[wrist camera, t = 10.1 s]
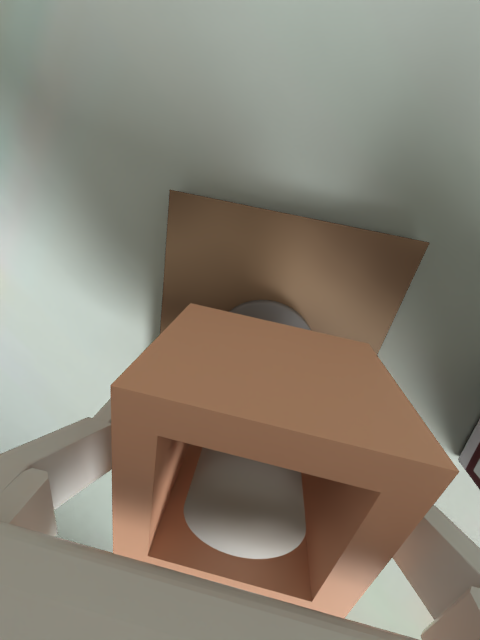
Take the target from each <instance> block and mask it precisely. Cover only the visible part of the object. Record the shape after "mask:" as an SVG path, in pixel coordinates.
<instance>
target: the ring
mask: <svg viewBox="0 0 480 640" xmlns="http://www.w3.org/2000/svg"><path fill="white" fill-rule="evenodd" d="M111 447H112V512H113V553H115V554H118V555H122V556H125V557H129V558H132V559H136V560H139V561H143V562H147V563H150V564H154V565H157V566H161V567H164V568H168V569H171V570H175V571H178V572H182V573H185V574H189V575H193V576H196V577H200V578H203V579H207V580H210V581H214V582H217V583H221V584H224V585H228V586H231V587H235V588H239V589H242V590H246V591H249V592H253V593H256V594H260V595H263V596H267V597H270V598H274V599H277V600H281V601H284V602H288V603H291V604H295V605H299V606H302V607H306V608H309V609H313V610H316V611H320V612H323V613H327V614H330V615H334V616H337V617H341V618H345V617H346V616H347V614H348V613H349V612H350V610H351V609H352V608H353V607H354V605H355V604H356V603H357V602H358V600H359V599H360V598H361V596H362V595H363V594H364V593H365V591H366V590H367V589H368V587H369V586H370V585H371V584H372V582H373V581H374V580H375V579H376V577H377V576H378V575H379V573H380V572H381V571H382V570H383V568H384V567H385V566H386V565H387V563H388V562H389V561H390V559H391V558H392V557H393V556H394V554H395V553H396V552H397V550H398V549H399V548H400V547H401V545H402V544H403V543H404V542H405V540H406V539H407V538H408V536H409V535H410V534H411V533H412V531H413V530H414V529H415V528H416V526H417V525H418V524H419V522H420V521H421V520H422V519H423V517H424V516H425V515H426V513H427V512H428V511H429V510H430V508H431V507H432V506H433V505H434V503H435V502H436V501H437V499H438V498H439V497H440V496H441V494H442V493H443V492H444V490H445V489H446V488H447V487H448V485H449V484H450V483H451V482H452V480H453V479H454V478H455V476H456V475H457V474H458V473H459V471H458V469H457V468H456V466H455V465H454V464H453V462H452V461H451V459H450V458H449V457H448V455H447V454H446V452H445V451H444V449H443V448H442V447H441V445H440V444H439V442H438V441H437V440H436V438H435V437H434V435H433V434H432V433H431V431H430V430H429V428H428V427H427V425H426V424H425V423H424V421H423V420H422V418H421V417H420V416H419V414H418V413H417V411H416V410H415V409H414V407H413V406H412V404H411V403H410V401H409V400H408V399H407V397H406V396H405V394H404V393H403V392H402V390H401V389H400V387H399V386H398V384H397V383H396V382H395V380H394V379H393V377H392V376H391V375H390V373H389V372H388V370H387V369H386V368H385V366H384V365H383V363H382V362H381V360H380V359H379V358H378V356H377V355H376V353H375V352H374V351H373V349H372V348H371V346H370V345H369V344H368V343H364V342H359V341H355V340H350V339H346V338H342V337H337V336H333V335H328V334H324V333H320V332H315V331H311V330H306V329H302V328H298V327H293V326H289V325H284V324H280V323H276V322H271V321H267V320H263V319H258V318H254V317H249V316H245V315H241V314H236V313H232V312H227V311H223V310H219V309H214V308H210V307H205V306H201V305H197V304H192V303H190V304H189V305H188V306H187V307H186V308H185V309H184V310H183V311H182V312H181V313H180V314H179V316H178V317H177V318H176V319H175V320H174V321H173V322H172V323H171V324H170V325H169V326H168V327H167V328H166V329H165V330H164V331H163V332H162V333H161V334H160V335H159V336H158V337H157V338H156V339H155V340H154V341H153V342H152V343H151V344H150V345H149V346H148V347H147V348H146V349H145V350H144V351H143V353H142V354H141V355H140V356H139V357H138V358H137V359H136V360H135V361H134V362H133V363H132V364H131V365H130V366H129V367H128V368H127V369H126V370H125V371H124V372H123V373H122V374H121V375H120V376H119V377H118V378H117V379H116V380H115V381H114V382H113V383H112V384H111ZM203 447H204V448H208V449H211V450H215V451H219V452H223V453H227V454H231V455H235V456H239V457H243V458H247V459H251V460H255V461H258V462H262V463H266V464H270V465H274V466H278V467H282V468H286V469H290V470H294V471H298V472H301V476H302V487H303V499H304V510H305V521H306V534H305V537H304V539H303V541H302V542H301V544H300V545H299V546H298V547H297V548H295V549H294V550H293V551H291V552H289V553H287V554H284V555H282V556H278V557H274V558H268V559H249V558H242V557H237V556H233V555H230V554H226V553H224V552H221V551H219V550H217V549H215V548H213V547H211V546H209V545H207V544H206V543H204V542H203V541H202V540H200V539H199V538H198V537H197V536H196V535H195V534H194V533H193V532H192V531H191V529H190V528H189V526H188V525H187V523H186V520H185V517H184V504H185V501H186V497H187V494H188V491H189V488H190V485H191V482H192V479H193V476H194V473H195V469H196V466H197V463H198V460H199V457H200V454H201V451H202V448H203Z"/></svg>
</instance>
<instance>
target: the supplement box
mask: <svg viewBox="0 0 480 640" xmlns="http://www.w3.org/2000/svg"><path fill="white" fill-rule="evenodd" d="M458 460H459V462H460V464H461V465H462V466H463V468H464V469H465V470H466V471H467V473H468V474H469V475H470V477H471V478H472V480H473V481H474V482H475V484H476V485H477V486H478V488H479V489H480V419H479V421H478V423H477V425H476V427H475V429H474V431H473V432H472V434H471V436H470V438H469V440H468V441H467V443H466V445H465V447H464V449H463V451H462V453H461V455H460V457H459V459H458Z"/></svg>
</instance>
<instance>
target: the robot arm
mask: <svg viewBox="0 0 480 640" xmlns="http://www.w3.org/2000/svg"><path fill="white" fill-rule="evenodd" d="M111 469H112V447H111V398H110V399H109V401H108V402H107V403H106V404H105V405H104V406H103V407H102V408H101V409H100V410H99V412H98V413H97V414H96V415H95V416H94V417H93V418H90V417H87V418H85V419H82V420H80V421H78V422H75V423H73V424H71V425H68V426H66V427H63V428H61V429H59V430H56V431H54V432H52V433H49V434H47V435H44V436H42V437H40V438H37V439H35V440H33V441H30V442H28V443H25V444H23V445H21V446H18V447H16V448H14V449H11V450H9V451H6V452H4V453H2V454H0V640H418V639H415V638H411V637H408V636H404V635H401V634H397V633H394V632H390V631H387V630H383V629H380V628H376V627H373V626H369V625H366V624H362V623H358V622H355V621H351V620H348V619H344V618H341V617H337V616H334V615H330V614H327V613H323V612H320V611H316V610H313V609H309V608H306V607H302V606H299V605H295V604H291V603H288V602H284V601H281V600H277V599H274V598H270V597H267V596H263V595H260V594H256V593H253V592H249V591H246V590H242V589H239V588H235V587H231V586H228V585H224V584H221V583H217V582H214V581H210V580H207V579H203V578H200V577H196V576H193V575H189V574H185V573H182V572H178V571H175V570H171V569H168V568H164V567H161V566H157V565H154V564H150V563H147V562H143V561H139V560H136V559H132V558H129V557H125V556H122V555H118V554H115V553H111V552H108V551H104V550H101V549H97V548H93V547H90V546H86V545H83V544H79V543H76V542H72V541H69V540H65V539H62V538H58V537H55V536H56V535H57V524H56V518H55V513H54V510H55V509H57V508H58V507H60V506H61V505H62V504H64V503H65V502H66V501H68V500H69V499H71V498H72V497H73V496H75V495H76V494H78V493H79V492H80V491H82V490H83V489H85V488H86V487H87V486H89V485H90V484H92V483H93V482H94V481H96V480H97V479H99V478H100V477H101V476H103V475H104V474H106V473H107V472H108V471H110V470H111ZM393 559H394V560H395V562H396V563H397V565H398V566H399V568H400V569H401V571H402V572H403V574H404V575H405V577H406V578H407V580H408V581H409V583H410V584H411V586H412V587H413V588H414V590H415V591H416V593H417V594H418V596H419V597H420V599H421V600H422V602H423V603H424V605H425V606H426V608H427V609H428V611H429V612H430V614H431V615H432V617H433V618H434V621H433V622H432V623H431V624H430V625H429V626H428V627H427V628H425V629H424V631H423V632H422V634H421V638H422V640H480V548H479V547H478V546H477V545H476V544H475V543H474V542H473V541H472V540H471V539H470V538H468V537H467V536H466V535H465V534H464V533H463V532H462V531H461V530H460V529H459V528H458V527H457V526H456V525H455V524H454V523H453V522H452V521H451V520H450V519H449V518H448V517H446V516H445V515H444V514H443V513H442V512H441V511H440V510H439V509H438V508H437V507H436V506H434V505H433V506H432V507H431V508H430V510H429V511H428V512H427V513H426V515H425V516H424V517H423V519H422V520H421V521H420V522H419V524H418V525H417V526H416V528H415V529H414V530H413V531H412V533H411V534H410V535H409V536H408V538H407V539H406V540H405V542H404V543H403V544H402V545H401V547H400V548H399V549H398V550H397V552H396V553H395V554H394V556H393Z"/></svg>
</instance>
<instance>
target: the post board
mask: <svg viewBox="0 0 480 640" xmlns="http://www.w3.org/2000/svg"><path fill="white" fill-rule="evenodd" d="M428 245H429V242H424V241H419V240H414V239H409V238H405V237H400V236H395V235H390V234H385V233H380V232H375V231H370V230H365V229H360V228H355V227H351V226H346V225H341V224H336V223H331V222H326V221H321V220H316V219H311V218H306V217H301V216H297V215H292V214H287V213H282V212H277V211H272V210H267V209H262V208H257V207H252V206H247V205H242V204H238V203H233V202H228V201H223V200H218V199H213V198H208V197H203V196H198V195H193V194H188V193H184V192H179V191H174V190H170V194H169V209H168V224H167V238H166V253H165V268H164V282H163V297H162V312H161V327H160V334H161V333H162V332H163V331H164V330H165V329H166V328H167V327H168V326H169V325H170V324H171V323H172V322H173V321H174V320H175V319H176V318H177V317H178V316H179V314H180V313H181V312H182V311H183V310H184V309H185V308H186V307H187V306H188V305H189V304H190V303H192V304H197V305H201V306H205V307H210V308H214V309H219V310H223V311H227V312H232V313H236V314H241V315H245V316H249V317H254V318H258V319H263V320H267V321H271V322H276V323H280V324H284V325H289V326H293V327H298V328H302V329H306V330H311V331H315V332H320V333H324V334H328V335H333V336H337V337H342V338H346V339H350V340H355V341H359V342H364V343H368V344H369V345H370V346H371V348H372V349H373V351H374V352H375V353H376V355H377V354H378V352H379V350H380V348H381V345H382V343H383V341H384V339H385V337H386V335H387V333H388V330H389V328H390V326H391V324H392V322H393V320H394V318H395V316H396V313H397V311H398V309H399V307H400V305H401V303H402V301H403V298H404V296H405V294H406V292H407V290H408V288H409V286H410V283H411V281H412V279H413V277H414V275H415V273H416V271H417V269H418V266H419V264H420V262H421V260H422V258H423V256H424V254H425V251H426V249H427V247H428ZM184 517H185V520H186V523H187V525H188V526H189V528H190V529H191V531H192V532H193V533H194V534H195V535H196V536H197V537H198V538H199V539H200V540H202V541H203V542H204V543H206V544H207V545H209V546H211V547H213V548H215V549H217V550H219V551H221V552H224V553H226V554H230V555H233V556H237V557H242V558H249V559H268V558H274V557H278V556H282V555H284V554H287V553H289V552H291V551H293V550H294V549H295V548H297V547H298V546H299V545H300V544H301V542H302V541H303V539H304V537H305V534H306V521H305V510H304V499H303V487H302V476H301V472H298V471H294V470H290V469H286V468H282V467H278V466H274V465H270V464H266V463H262V462H258V461H255V460H251V459H247V458H243V457H239V456H235V455H231V454H227V453H223V452H219V451H215V450H211V449H208V448H204V447H203V448H202V451H201V454H200V457H199V460H198V463H197V466H196V469H195V473H194V476H193V479H192V482H191V485H190V488H189V491H188V494H187V497H186V501H185V504H184Z"/></svg>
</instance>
